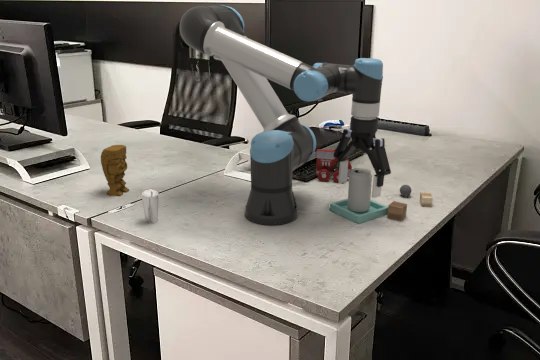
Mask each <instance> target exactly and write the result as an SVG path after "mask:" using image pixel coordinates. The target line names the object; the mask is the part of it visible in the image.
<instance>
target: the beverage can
mask: <svg viewBox="0 0 540 360" xmlns="http://www.w3.org/2000/svg"><path fill="white" fill-rule="evenodd" d="M372 184H373V175H372V171H371V170H370V169H368V168H363V167H358V168H357V167H356V168H355V167H354V168H352V170H351V173H350V174H349V177H348V189H347V193H348V194H347V199H348V206H347V207H348V209H349V210H350V211H352V212H354V213H365V212H367V211H368V210H369V209H370V200H371V198H372Z"/></svg>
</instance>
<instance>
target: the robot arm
mask: <svg viewBox="0 0 540 360" xmlns="http://www.w3.org/2000/svg"><path fill="white" fill-rule="evenodd" d="M179 33H180V36H181V39H182V40H183V41H184V43H185V44H186V45H187V46H189V47H190V48H192V49H193V50H196V51H198V52H200V53H202V54H204V55H205V56H210V57H213V59H214V60H216V61H221V62H222V64H223V65H224V67H225V69H226V70H227V72H228V73H229V75H230V77H231V79H232V80H233V81H234V83H235V85H236V86H237V88H238V89H239V91H240V93H241V94H242V96H243V98H244V99H245V101H246V103H247V105H249V107H250V109H251V111H252V112H253V114H254V115H255V117H256V119H257V120H258V122H259V124H260V125H261V127H262V128H263V131H262V132H259V133H257V134H255V135H254V136H253V137H252V138H251V141H250V148H249V154H250V191H249V195H248V198H247V200H246V201H247V202H246V204H245V207H244V216H245V218H247V220H249V221H251V222H253V223H255V224H260V225H264V226H265V225H266V226H277V225H284V224H287V223H290V222H293V221H294V220H296V219H297V218H298V217H299V215H298V214H299V207H298V203H297V200H296V198H295V194H294V191H293V172H294V171H295V170H296V169H298V168H299V167H301V166H302V165H304V164H306V163H308V161H309V160H310V159H311V158H312V157H313V155H314V154H315V153H316V150H317V140H316V136H315V134H314V132H313V130H312V129H311V128H309V126H307V125H304V124H302V123H301V122H300V120H299V119H298V117H297V116H296V115H294V114H290V113H289V112H288V111H287V110H286V108H285V107H284V105H283V103H282V101H281V100H280V98H279V96H278V94H277V93H276V92H275V90H274V89H273V87H272V85H271V84H270V82H269V81H271V82H274V83H276V84H278V85H280V86H283V87H285V88H287V89H289V90H291V91H294V93H295V95H296V96H297V97H298V98H299V99H300V100H301V101H304V102H316V101H318V100H320V99H323V98H324V97H327V96H328V95H330V94H333V93H344V94H351V95H352V97H351V109H350V111H351V112H350V115H351V117H350V122H349V123H350V126H349V128H345V129H343V130H342V136H341V137H340V140H339V142H338V144H337V146H336V148H335V153H334V157H336V158H338V160H337V161H339V163H338V171H339V180H338V183H337V184H344V183H346V182H348V177H347V172H348V161H347V160H346V159H347V158H348V159H349V157H350V156H351V155H352V154H353V152H354V151H355V150H360V151H362V152H364V153H365V154H366V155H367V157H368V159H369V161H370V163H371V166H372V168H373V170H374V172H375V174H373V176H372V187H371V198H372V199H375V198H378V197H382V196H381V195H382V187H383V186H384V181H385V177H386V176H389V175H390V174H391V173H392V171H391V166H390V162H389V160H388V155H387V151H386V147H385V146H386V145H385V143H386V141H385V137H384V138H377V137H376V134H377V132H378V129H379V118H378V117H379V115H380V108H381V107H380V105H381V95H382V85H383V80H384V79H383V78H384V76H383V75H384V74H383V73H384V63H383V61H382V60H381V59H378V58H372V57H368V58H367V57H360V58H356V59H355V61H354V64H352V65H351V64H350V65H349V64H340V63H339V64H338V63H329V62H316V63H314V64H313V65H309V64H308V63H304V62H303V61H301V60H298V59H296V58H294V57H292V56H290V55H287V54H286V53H282V52H280V51H278V50H276V49H273V48H271V47H269V46H267V45H264V44H262V43H260V42H257V41H256V40H253V39H251V38H248V37H247V35H246V34H245V22H244V19H243V17H242V15H241V14H240V13H239V12H238V11H237V9H235V8H234V7H231V6H228V5H223V4H216V5H206V6H205V5H197V6H193V7H191V8H189V9H188V10H186V12H184V13H183V14H182V16H181V18H180V22H179ZM345 160H346V161H345Z"/></svg>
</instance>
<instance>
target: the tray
mask: <svg viewBox="0 0 540 360" xmlns="http://www.w3.org/2000/svg"><path fill="white" fill-rule="evenodd" d="M347 206H348V198H345V199H341V200H338V201H335V202H331V203H329V211H331V212H334V213H335V214H338V215H339V216H342V217H344V218H346V219H348V220H350V221H352V222H354V223H357V224H358V225H359V224H362V223H365V222H367V221H371V220H375V219H377V218H380V217H383V216H384V217H385V216H388V206H386V205H385V204H382V203H379V202H377V201H375V200H372V199H370V209H369V210H368V211H367V212H365V213H354V212H352V211H350V210H349V209H348V207H347Z"/></svg>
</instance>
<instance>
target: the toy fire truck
mask: <svg viewBox="0 0 540 360" xmlns="http://www.w3.org/2000/svg"><path fill="white" fill-rule="evenodd" d="M335 150H336V149H335ZM335 150H333V149H323V148H322V149H321V148H318V149H317V148H316V149H315V158H316V166H315V167H316V168H315V173H316V174H317V178H318V180H319V181H321V182H328V181H329V180H330V178H331V177H332V179H333V181H334V182H335V183H337V184H339V183H338V180H339V171H338V163H339V161H338V158H336V157H334V153H335ZM346 160H347V161H348V172H347V178H349V174H350V173H351V170H352V169H353V165H352V163H351V161H350V160H349V157H348V158H347V159H346ZM346 160H345V161H346Z"/></svg>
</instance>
